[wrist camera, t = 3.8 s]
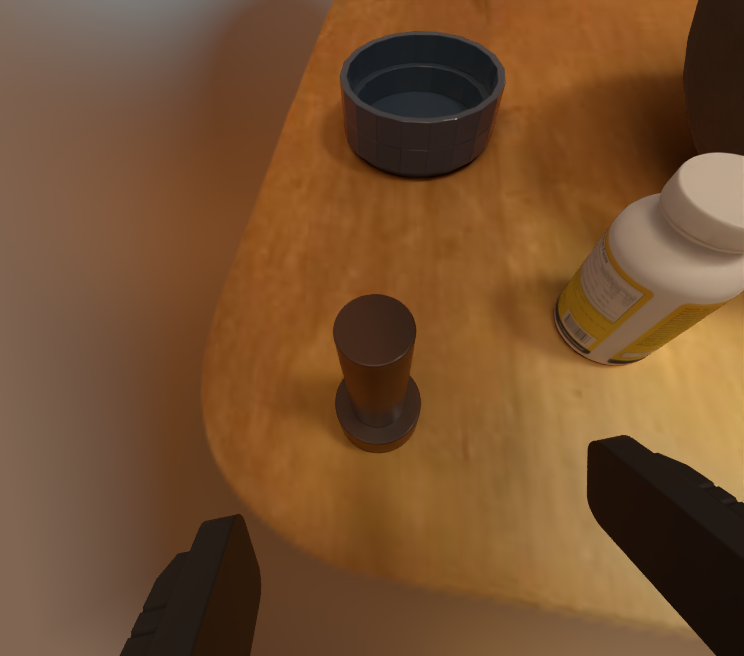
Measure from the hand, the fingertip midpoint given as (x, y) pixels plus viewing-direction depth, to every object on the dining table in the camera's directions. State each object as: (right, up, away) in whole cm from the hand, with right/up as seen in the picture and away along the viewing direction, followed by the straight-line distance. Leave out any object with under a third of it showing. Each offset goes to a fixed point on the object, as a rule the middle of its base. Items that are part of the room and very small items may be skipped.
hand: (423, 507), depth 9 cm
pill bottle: (+14, +4, +17) cm, 23 cm away
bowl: (+3, +23, +27) cm, 36 cm away
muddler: (-1, -1, +15) cm, 15 cm away
